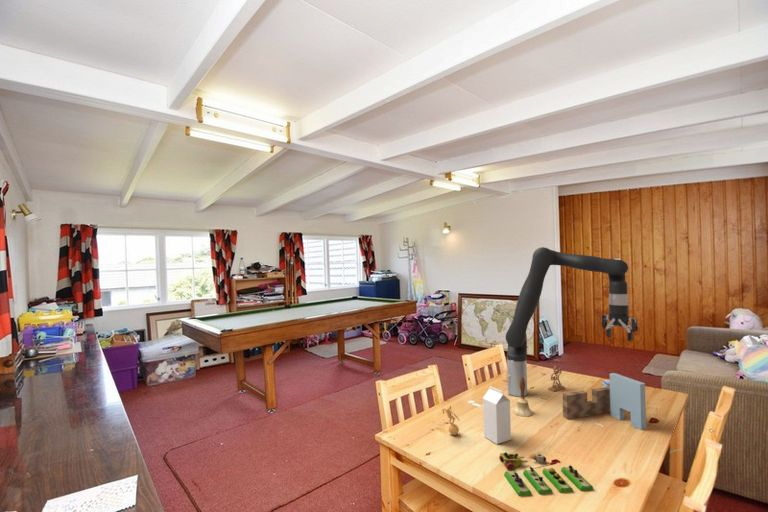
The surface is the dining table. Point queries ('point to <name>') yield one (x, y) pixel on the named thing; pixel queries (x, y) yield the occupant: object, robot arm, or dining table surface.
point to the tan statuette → (558, 386)
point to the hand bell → (522, 402)
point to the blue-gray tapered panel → (628, 399)
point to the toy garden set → (538, 481)
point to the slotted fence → (586, 403)
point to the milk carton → (496, 416)
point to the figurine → (453, 427)
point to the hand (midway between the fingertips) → (619, 339)
